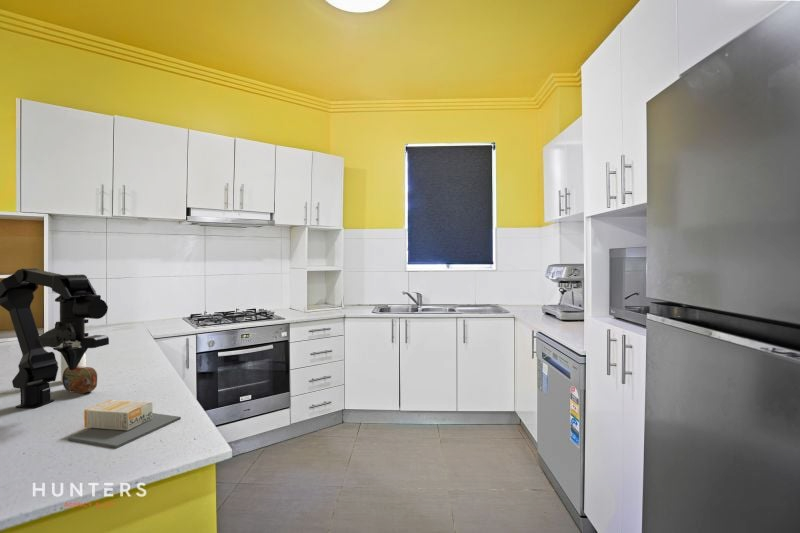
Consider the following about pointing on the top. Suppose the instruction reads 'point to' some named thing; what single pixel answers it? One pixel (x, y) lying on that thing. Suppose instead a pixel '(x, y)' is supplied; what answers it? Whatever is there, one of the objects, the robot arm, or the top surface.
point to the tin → (80, 379)
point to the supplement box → (118, 414)
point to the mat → (123, 432)
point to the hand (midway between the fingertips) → (72, 369)
